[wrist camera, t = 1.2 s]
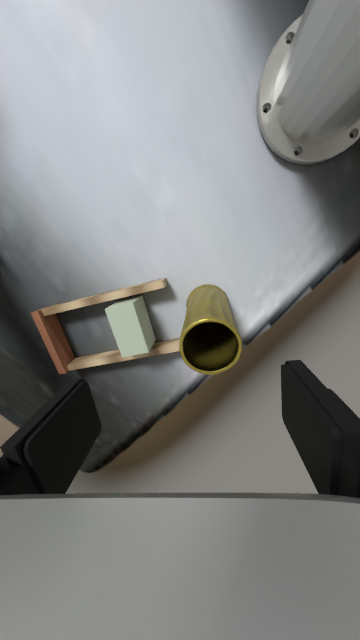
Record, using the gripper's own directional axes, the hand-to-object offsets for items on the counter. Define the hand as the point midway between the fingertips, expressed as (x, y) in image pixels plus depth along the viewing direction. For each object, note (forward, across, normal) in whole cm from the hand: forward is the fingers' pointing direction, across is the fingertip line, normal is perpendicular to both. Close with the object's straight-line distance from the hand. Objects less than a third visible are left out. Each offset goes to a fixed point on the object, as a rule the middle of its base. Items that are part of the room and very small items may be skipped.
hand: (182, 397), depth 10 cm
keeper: (+22, +9, +2) cm, 24 cm away
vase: (+22, -2, +1) cm, 22 cm away
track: (+22, +13, +2) cm, 26 cm away
